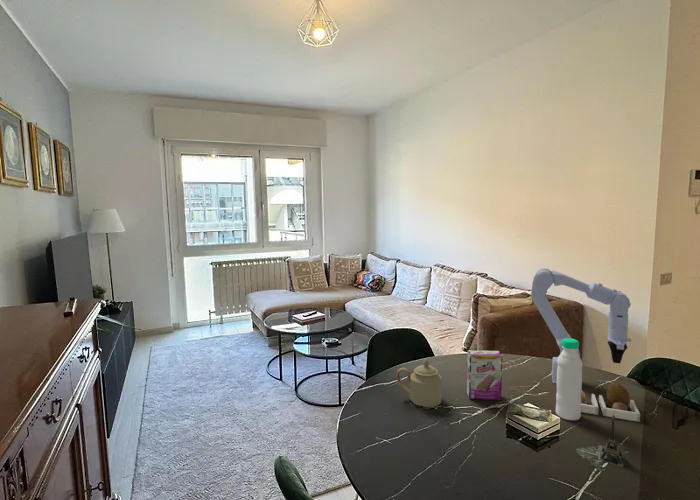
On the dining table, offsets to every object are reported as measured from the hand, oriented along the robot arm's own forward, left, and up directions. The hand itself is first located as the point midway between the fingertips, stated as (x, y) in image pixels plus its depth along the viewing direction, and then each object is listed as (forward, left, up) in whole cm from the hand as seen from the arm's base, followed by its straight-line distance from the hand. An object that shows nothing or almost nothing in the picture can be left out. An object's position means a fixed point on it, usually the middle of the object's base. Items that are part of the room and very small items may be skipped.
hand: (616, 362), depth 144 cm
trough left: (-13, -18, -10) cm, 25 cm away
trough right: (-2, -18, -10) cm, 21 cm away
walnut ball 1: (-13, -20, -10) cm, 26 cm away
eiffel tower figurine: (-8, -47, -11) cm, 49 cm away
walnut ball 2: (-2, -20, -10) cm, 23 cm away
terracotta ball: (-13, -15, -10) cm, 22 cm away
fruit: (-2, -16, -10) cm, 19 cm away
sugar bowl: (-63, -35, -10) cm, 73 cm away
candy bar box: (-43, -24, -10) cm, 50 cm away
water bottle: (-17, -27, -10) cm, 34 cm away
